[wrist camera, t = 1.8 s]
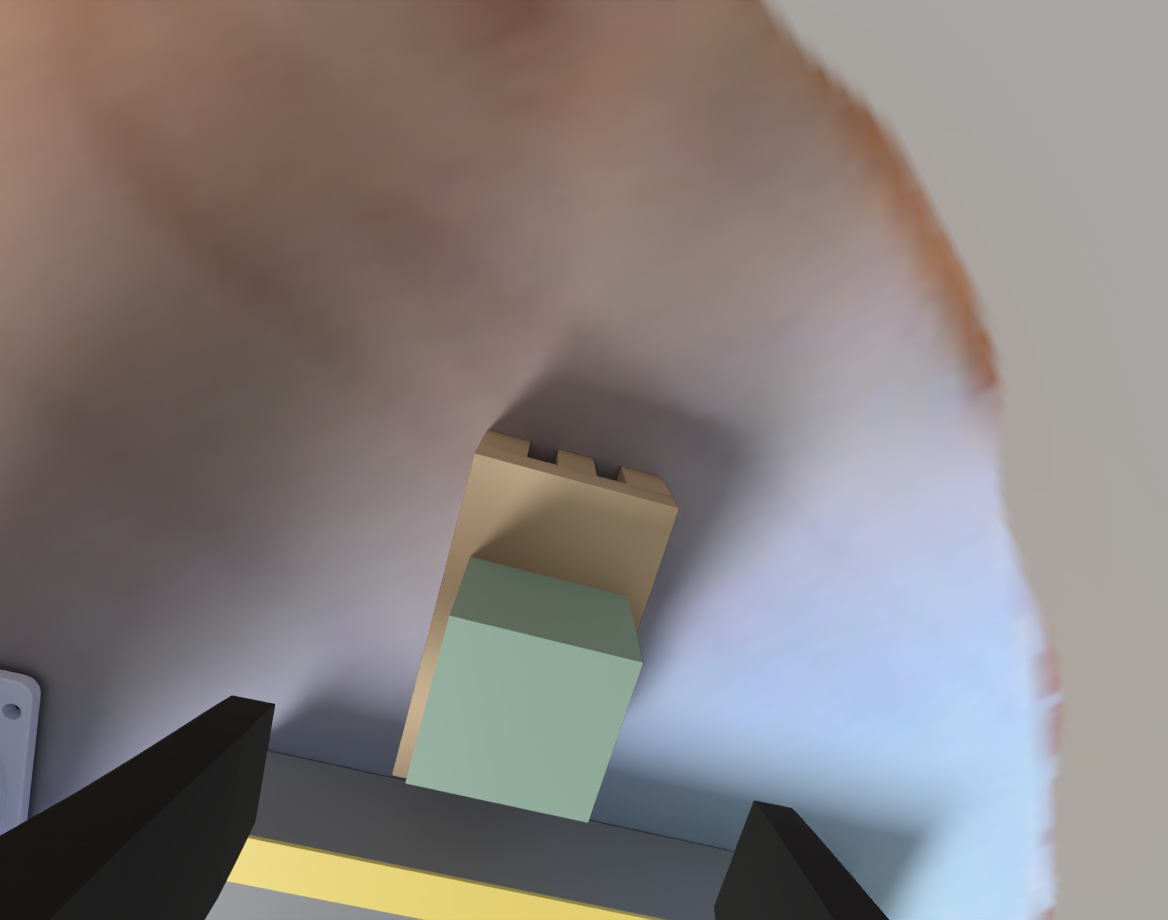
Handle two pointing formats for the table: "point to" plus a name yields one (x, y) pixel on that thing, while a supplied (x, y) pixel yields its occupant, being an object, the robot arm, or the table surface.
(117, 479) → the table surface
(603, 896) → the dock
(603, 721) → the green block
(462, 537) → the pallet
